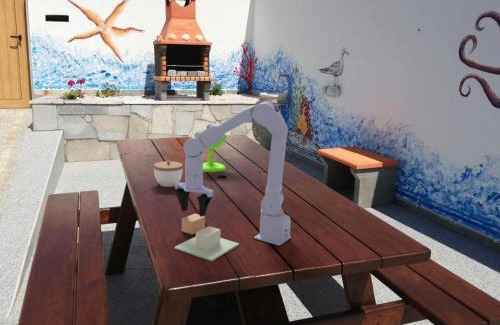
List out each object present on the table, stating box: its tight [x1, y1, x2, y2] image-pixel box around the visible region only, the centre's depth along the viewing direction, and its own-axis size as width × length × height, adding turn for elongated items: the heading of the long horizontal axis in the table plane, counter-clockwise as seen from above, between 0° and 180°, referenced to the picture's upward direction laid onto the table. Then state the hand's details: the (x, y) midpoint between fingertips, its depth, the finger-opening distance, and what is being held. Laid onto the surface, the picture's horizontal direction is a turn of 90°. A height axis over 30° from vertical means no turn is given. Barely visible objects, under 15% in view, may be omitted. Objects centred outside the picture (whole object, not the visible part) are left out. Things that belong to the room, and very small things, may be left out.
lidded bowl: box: [153, 159, 184, 188], centre depth 199 cm, size 13×13×11 cm
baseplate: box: [174, 236, 240, 262], centre depth 138 cm, size 14×14×1 cm
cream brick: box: [195, 225, 221, 250], centre depth 137 cm, size 4×6×4 cm
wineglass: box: [195, 130, 228, 173], centre depth 230 cm, size 16×16×18 cm
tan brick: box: [181, 213, 206, 235], centre depth 150 cm, size 4×6×4 cm
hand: (193, 213), depth 149 cm, fingers open, 7 cm apart
